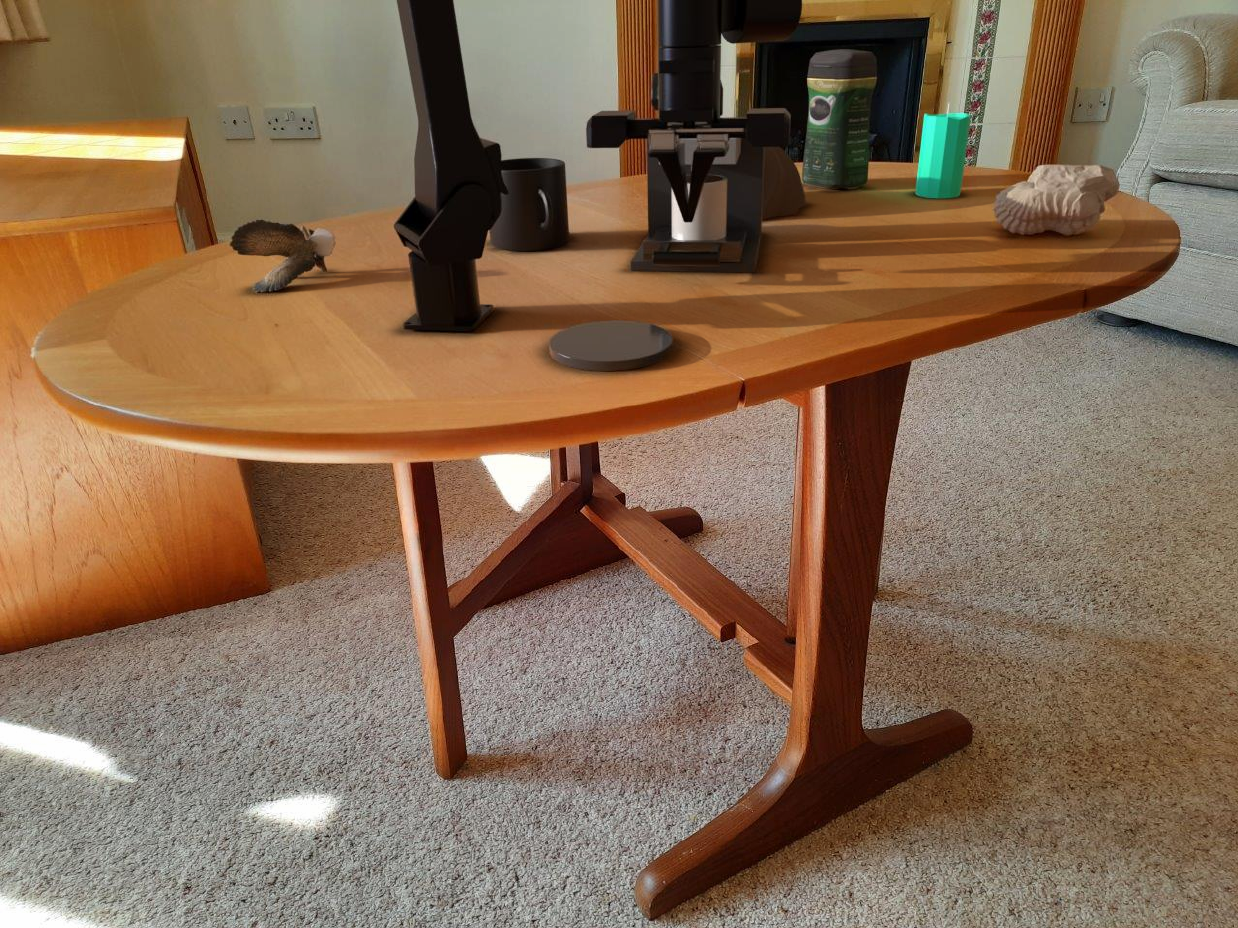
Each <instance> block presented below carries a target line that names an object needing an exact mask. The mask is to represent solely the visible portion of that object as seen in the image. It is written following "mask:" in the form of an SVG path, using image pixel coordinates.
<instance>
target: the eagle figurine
mask: <svg viewBox="0 0 1238 928" xmlns="http://www.w3.org/2000/svg"><path fill="white" fill-rule="evenodd" d="M230 239H231V241H230V242H229V243H228V244H229V246H230V247H231V249H232V251H235V252H236V253H237V255H239V256H257V257H271V256H280V257H284V261H282V262H280V263H279V264H277V265H276V266H275V267H274V268H271V270H270V271H269V272H267V274H266V275H265V276H264V277H263V278H261V279H260V280H258V281H257V282H255V283H254V284H253V286H252V292H254V293H265V292H269V293H270V292H271V293H272V292H274V291H278V290H281V289H283V288H285V287H287V286H288V285H290V284H292V282H293V281H295V280H296V279H297V278H298V277H299V276H301V275H303V274H304V273H308V272H311V271H312V270H313V269H314V268H315V267H316V268H319V270H321V272H323V273H328V269H327V266H326V263H325V257H329V256H331V255H332V254H333V251H334V248H335V246H336V236H335V234H334V233H333V232H332V231H330V230H329V229H327V228H325V227H318V228H316V229H315V230H313V229H311V228H308V229H306V227H305V226H304V225H302V226H301V228H299V227H298V226H296V225H295V224H293V223H279V222H271V221H270V220H269V221H266V220H264V219H255V221H254V220H251V221H250V222H246V223H244V224H242V226H238V227H237V229H236V230H234V231H233V234H232V235H231V237H230Z"/></svg>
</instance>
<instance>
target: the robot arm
mask: <svg viewBox="0 0 1238 928" xmlns="http://www.w3.org/2000/svg"><path fill="white" fill-rule="evenodd" d="M656 4H657V6H656V7H657V9H656V10H657V72H653V73H652V77H651V78H652V79H651V85H650V104H651V107H652V108H653V110H654V111H658V118H653V117H652V118H638V117H637V113H636V110H633V109H632V110H629V109H627V110H601V111H598V112H596V113H595V114H593V115H591V117H590V118H589V119H588V120H587V121H586V128H585V134H586V148H587V149H619V148H620V147H621V146H622V145H623V144H624V143H625V142H626V141H629V140H647V139H648V143H649V150H648V151H647V150H646V158H647V157H651V158H657V159H658V161H659V163H660V165H661V167H662V169H663V170H664V172H665V174H666V176H667V178H668V180H669V182H670V185H671V187H672V190H673V193H674V195H675V198H676V201H677V204H678V207H679V209H680V212H681V215H682V218H683V221H684V222H686V223H687V222H689V223H692V221H693V219H694V216H695V212H696V209H697V206H698V203H699V199H700V196H701V193H702V189H703V186H704V183H705V180H706V177H707V175H708V173H709V170H710V168H711V166H712V164H713V161H714V159H715V157H724V156H726V154H727V152H728V150H729V143H728V141H729V139H730V138H746V139H747V140H748V141H749V142H750V143H751V144H752V145H753V147H780V148H783V147H789V146H790V139H791V138H790V137H791V136H790V135H791V119H792V118H791V117H792V114H791V113H790V112H789V110H788V109H787V108H786V107H774V108H772V107H771V108H770V107H769V108H768V107H766V108H764V107H763V108H762V107H761V108H748V110H747V112H746V116H745V117H744V116H737V117H736V116H735V117H731V116H729V117H722V116H723V114H724V86H723V83H722V80H721V74H722V72H721V71H722V38H723V39H724V40H725V41H726V42H727V43H729V44H731V45H732V44H733V45H734V44H752V43H769V42H784V41H787V40H789V39H790V38H791V37H792V36H793V35H794V34H795V32H797V31H796V30H797V29H798V26H799V23H800V20H801V17H802V11H803V0H656ZM396 5H397V10H398V11H397V12H398V16H399V22H400V27H401V33H402V37H403V38H402V39H403V43H404V51H405V54H406V60H407V66H408V71H409V77H410V83H411V87H412V93H413V94H412V95H413V99H414V104H415V112H416V115H417V134H416V141H415V150H414V157H413V166H414V168H413V169H414V197H413V199H412V200H411V201H410V202H409V204H408V205H407V206H406V208H405V209H404V210H403V212H402V213H401V214H400V216H399V217H398V218H397V219H396V220H395V222H394V224H393V229H394V231H395V232H396V235H397V236H398V239H399V240H400V242H401V244H402V246H404V247H405V248H408V249H409V250H410V252H408V254H407V257H408V264H409V270H410V277H411V284H412V292H413V299H414V307H415V313H413V314H412V315H411V316H410V317H409V318H408V319H407V320H405V321H404V322H403V323H402V327H403V328H402V329H403V330H406V331H407V330H409V331H440V332H441V331H442V332H443V331H444V332H445V331H447V332H472V331H474V330H476V329H477V328H478V326H479V325H481V324H482V323H483V322H484V320H485V319H486V318H487V317H488V316H490V315H491V313H493V312H494V310H495V309H494V305H493V304H485V303H483V304H482V303H481V298H480V290H479V289H480V288H479V280H478V271H477V262H476V260H480V259H481V258H482V257H483V255H484V251H485V245H486V241H487V237H488V233H489V232H490V231H489V230H490V229H491V228H492V227H493V225H494V224H495V222H496V221H497V219H499V218H500V215H501V211H502V197H501V193H503V194H505V195H508V193H509V192H508V190H507V188H506V186H505V184H504V181H503V178H502V172H501V160H502V149H501V144H500V143H498V142H496V141H491V140H489V139H485V138H482V137H480V135H479V133H478V130H477V129H476V126H475V124H474V121H473V118H472V113H471V107H470V100H469V99H470V98H469V94H468V86H467V81H466V74H465V73H466V72H465V67H464V61H463V54H462V48H461V42H460V35H459V34H460V33H459V28H458V21H457V15H456V7H455V2H454V0H396ZM668 122H676V123H683V124H680V125H668ZM695 122H706V123H705V124H695ZM685 138H697V142H699V145H698V146H697V148H696V149H695V150H694V152H693V161H692V171H691V180H690V190H689V196H688V186H687V177H686V167H685V143H679V142H680V141H681V139H685Z"/></svg>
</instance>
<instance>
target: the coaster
mask: <svg viewBox="0 0 1238 928" xmlns="http://www.w3.org/2000/svg"><path fill="white" fill-rule="evenodd" d="M548 347H549V355H550V356H551V358H552V359H553V360H554V361H555V362H557V363H559V364H561V365H563V366H566V367H569V368H573V369H578V370H585V371H593V372H616V371H617V372H618V371H627V370H634V369H635V370H636V369H640V368H644V367H647V366H651V365H654V364H656V363H659V362H661V361H663V360H665V359H666V358H668V357H669V356H670V355H671V354H672V352H673V350H674V338H673V335H672V333H670V332H669V331H668V330H667V329H665V328H663V327H661V326H659V325H655V324H652V323H648V322H644V321H643V322H642V321H636V320H635V321H634V320H601V321H592V322H586V323H585V322H584V323H579V324H576V325H573V326H570V327H569V326H568V327H567V328H564V329H561V330H560V331H557V332H556V333H555V334H554V335H553V336H551V338H550V339H549V343H548Z"/></svg>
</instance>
